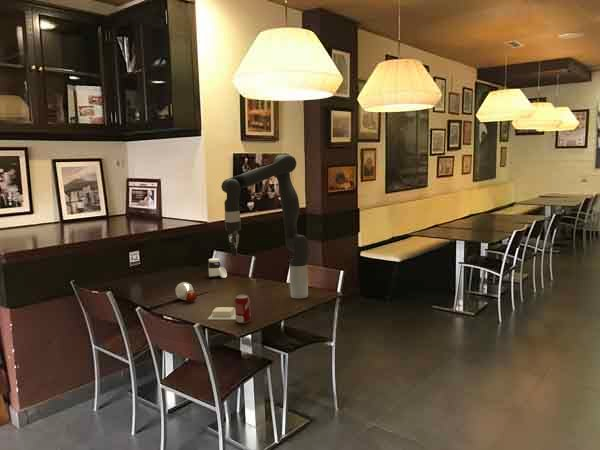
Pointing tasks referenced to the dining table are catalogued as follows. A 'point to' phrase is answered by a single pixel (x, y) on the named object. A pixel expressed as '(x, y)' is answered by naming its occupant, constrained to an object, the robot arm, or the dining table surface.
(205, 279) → the dining table surface
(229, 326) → the dining table surface
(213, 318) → the mat
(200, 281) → the dining table surface
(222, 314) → the card deck
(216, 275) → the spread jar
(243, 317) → the soda can
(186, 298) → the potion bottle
